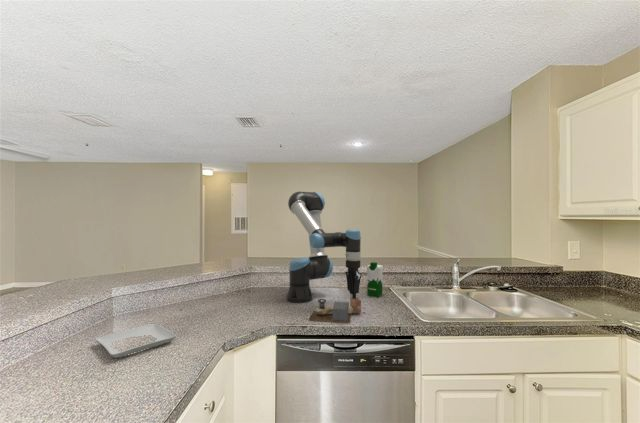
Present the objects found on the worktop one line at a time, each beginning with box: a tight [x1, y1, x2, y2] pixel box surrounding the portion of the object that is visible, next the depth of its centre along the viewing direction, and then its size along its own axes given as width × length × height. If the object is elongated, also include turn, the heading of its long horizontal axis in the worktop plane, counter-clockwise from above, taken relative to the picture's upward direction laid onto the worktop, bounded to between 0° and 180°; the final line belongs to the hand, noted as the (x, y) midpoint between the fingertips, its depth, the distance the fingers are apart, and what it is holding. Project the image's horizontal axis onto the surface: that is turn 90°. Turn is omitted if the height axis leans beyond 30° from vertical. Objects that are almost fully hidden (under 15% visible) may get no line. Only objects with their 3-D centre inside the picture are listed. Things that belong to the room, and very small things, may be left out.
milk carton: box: [366, 261, 384, 298], centre depth 178 cm, size 9×9×20 cm
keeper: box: [308, 298, 352, 324], centre depth 138 cm, size 19×12×7 cm, turn 82°
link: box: [316, 297, 362, 315], centre depth 142 cm, size 22×5×6 cm, turn 98°
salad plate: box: [95, 322, 178, 358], centre depth 109 cm, size 21×21×3 cm
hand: (353, 305), depth 148 cm, fingers closed
